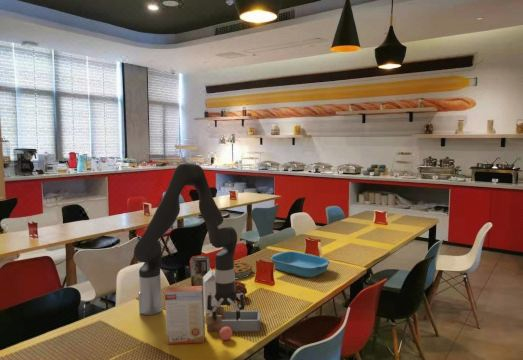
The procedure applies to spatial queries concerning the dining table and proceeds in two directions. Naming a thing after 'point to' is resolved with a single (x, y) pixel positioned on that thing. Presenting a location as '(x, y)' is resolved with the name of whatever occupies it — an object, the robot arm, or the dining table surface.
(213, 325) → the ramp
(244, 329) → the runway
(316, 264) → the casserole dish
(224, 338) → the ball
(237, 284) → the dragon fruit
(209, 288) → the milk carton
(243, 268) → the pie
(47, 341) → the dining table surface
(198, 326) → the cracker box
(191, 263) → the coffee box
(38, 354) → the dining table surface
